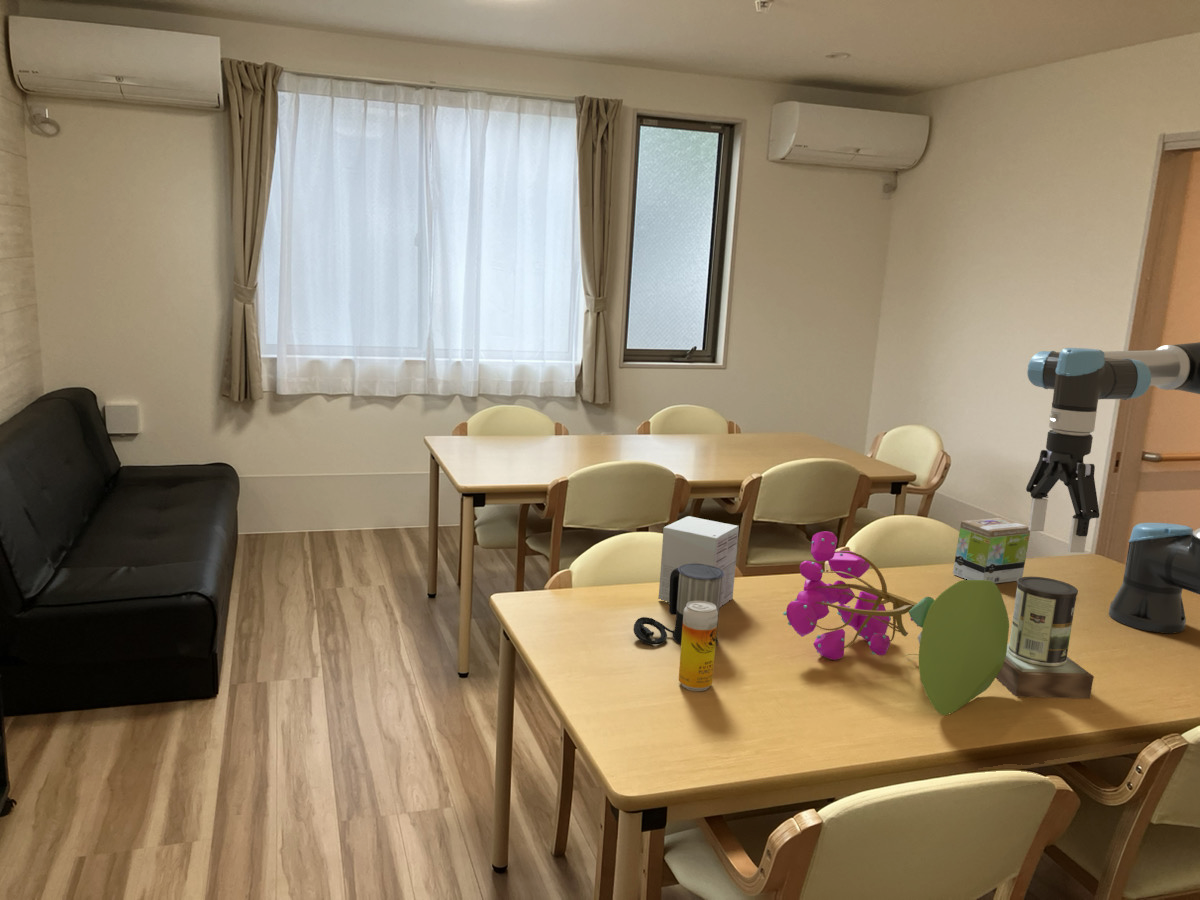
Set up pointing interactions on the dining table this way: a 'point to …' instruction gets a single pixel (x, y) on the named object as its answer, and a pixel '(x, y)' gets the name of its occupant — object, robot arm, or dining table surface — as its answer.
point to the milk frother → (684, 599)
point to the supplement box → (699, 551)
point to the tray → (1045, 679)
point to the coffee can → (1042, 621)
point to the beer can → (698, 645)
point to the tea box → (991, 550)
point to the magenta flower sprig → (950, 623)
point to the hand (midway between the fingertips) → (1055, 541)
